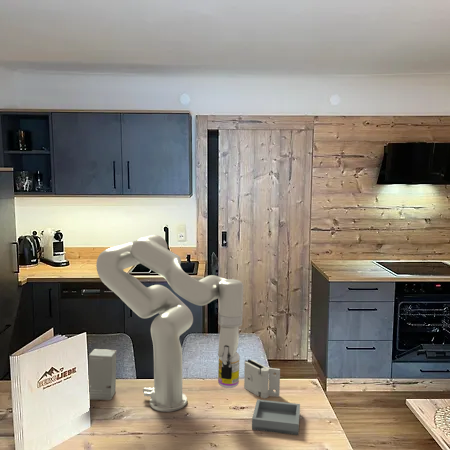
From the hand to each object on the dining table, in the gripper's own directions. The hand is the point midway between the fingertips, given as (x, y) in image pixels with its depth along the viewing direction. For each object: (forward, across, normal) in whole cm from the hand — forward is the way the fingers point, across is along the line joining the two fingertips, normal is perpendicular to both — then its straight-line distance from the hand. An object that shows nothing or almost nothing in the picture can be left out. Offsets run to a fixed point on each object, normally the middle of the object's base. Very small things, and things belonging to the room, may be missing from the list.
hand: (228, 372), depth 145 cm
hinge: (+15, -18, +9) cm, 25 cm away
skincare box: (+16, -4, -45) cm, 48 cm away
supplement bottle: (+4, 0, 0) cm, 4 cm away
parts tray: (+14, 0, +16) cm, 21 cm away
